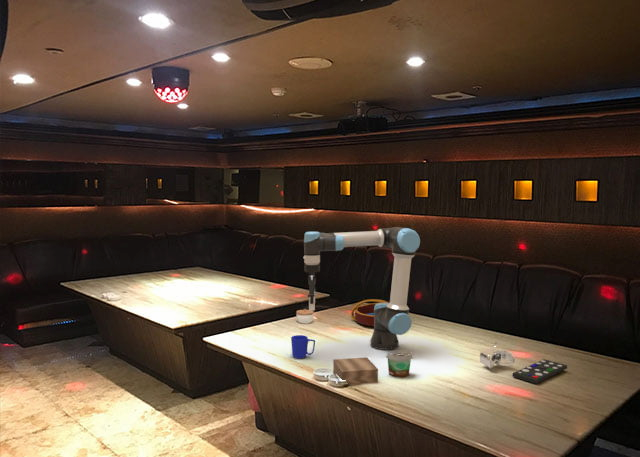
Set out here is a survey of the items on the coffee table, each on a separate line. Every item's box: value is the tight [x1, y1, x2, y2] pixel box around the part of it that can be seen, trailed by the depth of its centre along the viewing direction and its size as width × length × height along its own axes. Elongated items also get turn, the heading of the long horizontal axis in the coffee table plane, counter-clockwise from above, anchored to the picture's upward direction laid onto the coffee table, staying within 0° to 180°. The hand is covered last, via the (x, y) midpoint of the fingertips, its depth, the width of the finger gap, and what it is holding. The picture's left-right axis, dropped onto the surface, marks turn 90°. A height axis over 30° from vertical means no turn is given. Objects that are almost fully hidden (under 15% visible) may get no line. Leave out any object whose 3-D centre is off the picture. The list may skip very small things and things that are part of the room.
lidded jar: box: [296, 308, 315, 325], centre depth 312 cm, size 11×11×9 cm
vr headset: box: [479, 341, 516, 369], centre depth 237 cm, size 14×9×11 cm, turn 108°
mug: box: [290, 334, 316, 359], centre depth 248 cm, size 8×12×10 cm
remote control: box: [511, 359, 568, 385], centre depth 231 cm, size 11×30×2 cm, turn 130°
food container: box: [386, 350, 413, 378], centre depth 223 cm, size 12×6×10 cm, turn 105°
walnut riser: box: [332, 356, 379, 386], centre depth 221 cm, size 16×16×6 cm
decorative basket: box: [350, 298, 390, 327], centre depth 316 cm, size 34×29×15 cm
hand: (312, 307), depth 242 cm, fingers open, 13 cm apart
